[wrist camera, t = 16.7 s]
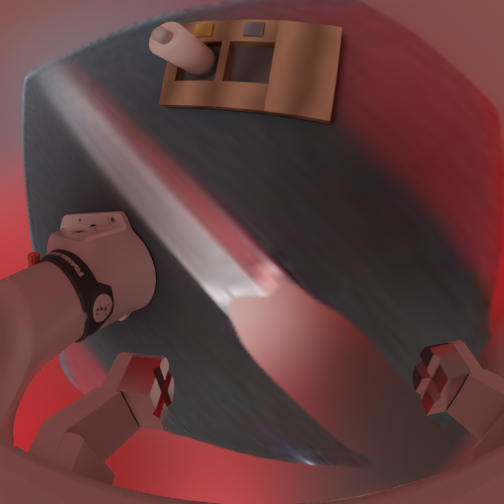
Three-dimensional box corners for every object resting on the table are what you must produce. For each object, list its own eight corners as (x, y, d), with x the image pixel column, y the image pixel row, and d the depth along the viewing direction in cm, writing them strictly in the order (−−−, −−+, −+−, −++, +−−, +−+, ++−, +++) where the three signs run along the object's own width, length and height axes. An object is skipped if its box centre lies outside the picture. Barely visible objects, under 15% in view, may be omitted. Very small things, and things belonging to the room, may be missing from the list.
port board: (168, 107, 35) (157, 104, 33) (184, 30, 32) (174, 22, 29) (330, 124, 31) (329, 120, 28) (342, 35, 27) (342, 25, 24)
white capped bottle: (207, 83, 33) (159, 56, 22) (185, 70, 33) (134, 43, 22) (225, 58, 31) (184, 23, 21) (203, 46, 31) (157, 12, 21)
